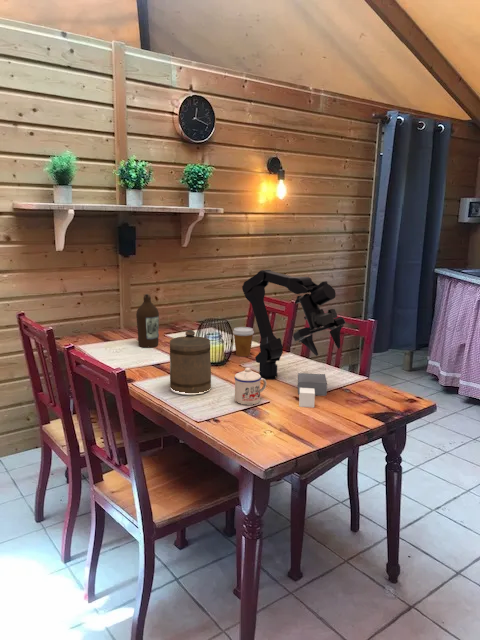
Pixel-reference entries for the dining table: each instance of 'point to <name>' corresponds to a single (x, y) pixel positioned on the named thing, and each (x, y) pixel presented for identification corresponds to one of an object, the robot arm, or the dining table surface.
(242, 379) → the teacup with lid
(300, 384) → the gray square block
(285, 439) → the dining table surface
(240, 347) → the disposable coffee cup
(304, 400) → the cream cube
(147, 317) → the olive oil
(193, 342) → the wooden container
